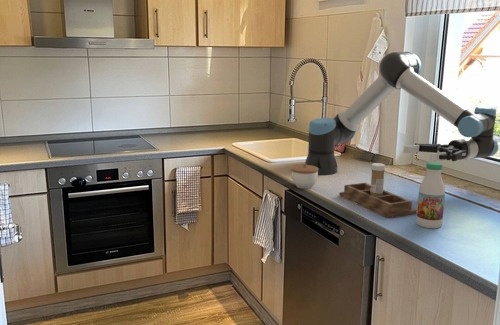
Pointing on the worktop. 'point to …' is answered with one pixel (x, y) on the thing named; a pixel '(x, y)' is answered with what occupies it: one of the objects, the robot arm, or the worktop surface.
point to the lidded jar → (304, 175)
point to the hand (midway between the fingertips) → (417, 153)
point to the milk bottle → (431, 197)
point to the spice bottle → (377, 179)
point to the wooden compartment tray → (378, 201)
